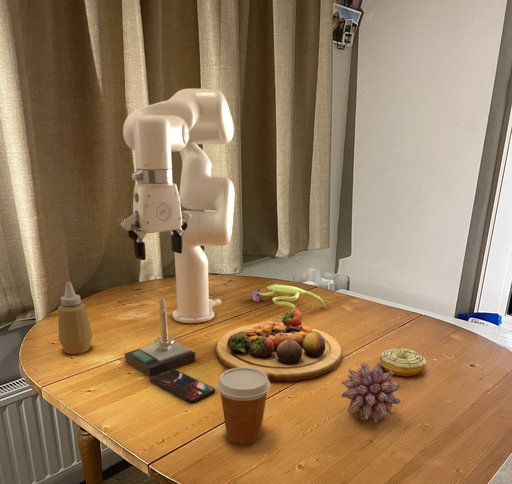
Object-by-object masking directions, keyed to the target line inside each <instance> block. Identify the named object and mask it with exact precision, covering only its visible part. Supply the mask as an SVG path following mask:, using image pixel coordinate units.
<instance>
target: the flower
mask: <svg viewBox="0 0 512 484" xmlns="http://www.w3.org/2000/svg"><path fill="white" fill-rule="evenodd" d="M381 364H382V363H381V362H380V361H379V362H377V365H375V367H373V369H372V368H371V366H370V365H368V361H364V362H362V363H361V364H360V367H361V368H359V369H357V371H355V370H354V369H352V368H349V369H348V373H349V374H348V375H347V378H348V379H345V380H341V382H340V383H341V385H344V386H345V387H346V388H347V390H345V391H343V392H342V393H341V394H340V396H341V398H346V399H349V400H350V402H349V406H348V407H347V409H346V411H347V412H348V413H349V414H351V413H353V412H355V411H356V412H357V411H359V412H360V420H363V421H365V420H366V421H367V419H369V417H370V416H371V418H373V421H374V423H375V422H378V420H380V419H382V418H383V417H385V416H387V414H390V415H394V412H393V411H392V409H391V408H393V407H394V405H398V404H401V402H402V399H400V398H398V396H396V394H394V393H395V392H398V390H399V389H400V388H403V386H402V383H397V382H393V381H392V378H393V375H395V374H394V372H393V371H390V372H388V371H386V372H383V369H382V365H381ZM382 416H383V417H382Z"/></svg>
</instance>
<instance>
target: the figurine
mask: <svg viewBox="0 0 512 484" xmlns="http://www.w3.org/2000/svg"><path fill="white" fill-rule="evenodd" d="M266 289H267V291H268V292H261V289H260V288H257V289H254V290H252V292H251V297H252V300H253V301H255V302H257V303H259V302H261V301H262V299H261V297H272V303H274V305H276V306H284V307H285V306H286V307H289V308H292V309H293V310H296V308H297V305H295V304H294V303H291V302H288V301H296V300H297V299H298V298H299V297H300V296H301V295H306V296H309V297H310V298H313V299H314V300H316V301H317V302H318V303H319V304H320V305H321V306H322V308H323V309H324V310H326V309H327V307H328V305H327V304H326V303H325V302H324V300H323V299H322V297H321V296H319V295H317V294H314V293H312V292H310V291H308V290H304V289H302V288H300V287H296V286H292V285H286V284H285V285H284V284H277V283H274V284H271V285H268V286H266ZM269 291H270V292H269Z"/></svg>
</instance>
